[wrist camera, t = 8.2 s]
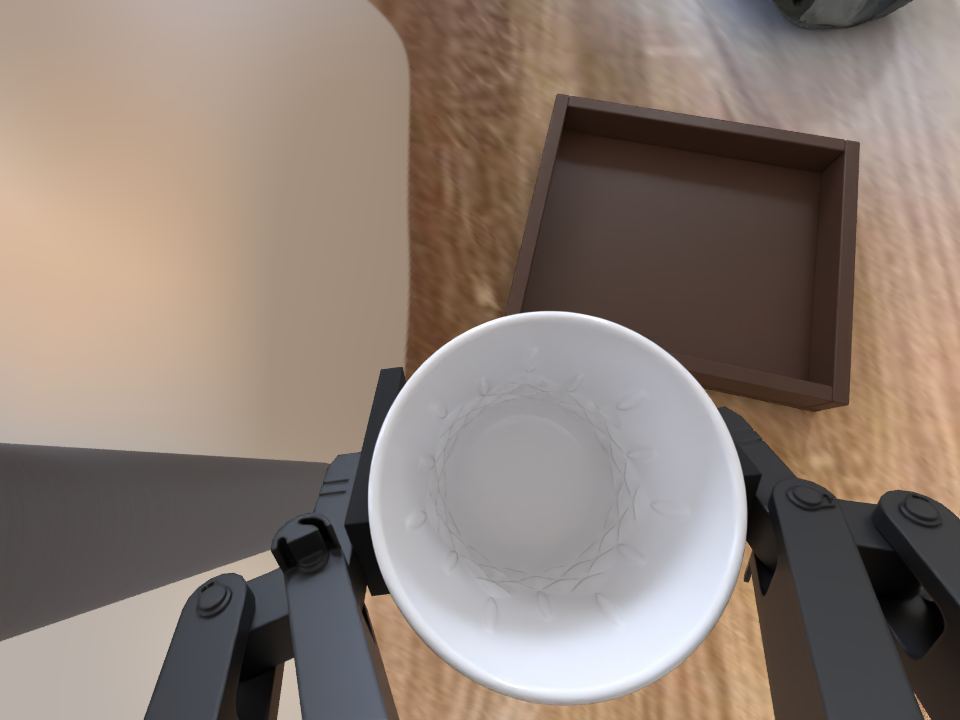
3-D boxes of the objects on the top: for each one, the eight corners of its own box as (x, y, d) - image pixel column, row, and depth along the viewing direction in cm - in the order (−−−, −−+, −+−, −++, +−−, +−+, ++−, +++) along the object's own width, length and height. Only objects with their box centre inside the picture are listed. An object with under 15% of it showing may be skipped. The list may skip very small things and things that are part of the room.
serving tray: (500, 344, 26) (500, 331, 24) (552, 123, 30) (557, 92, 27) (815, 412, 24) (849, 405, 22) (829, 170, 28) (860, 141, 26)
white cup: (412, 415, 20) (335, 361, 10) (582, 368, 20) (665, 272, 10) (457, 605, 18) (415, 761, 8) (644, 550, 18) (816, 639, 9)
